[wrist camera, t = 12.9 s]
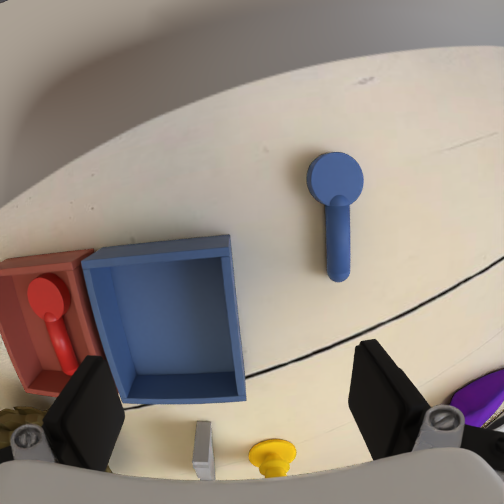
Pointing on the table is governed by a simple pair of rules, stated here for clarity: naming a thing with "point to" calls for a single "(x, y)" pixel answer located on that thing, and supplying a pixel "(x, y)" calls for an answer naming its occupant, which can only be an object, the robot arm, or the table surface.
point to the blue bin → (169, 320)
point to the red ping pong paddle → (54, 315)
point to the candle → (272, 457)
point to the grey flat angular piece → (204, 452)
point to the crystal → (480, 398)
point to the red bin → (33, 327)
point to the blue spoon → (336, 205)
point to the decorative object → (20, 422)
